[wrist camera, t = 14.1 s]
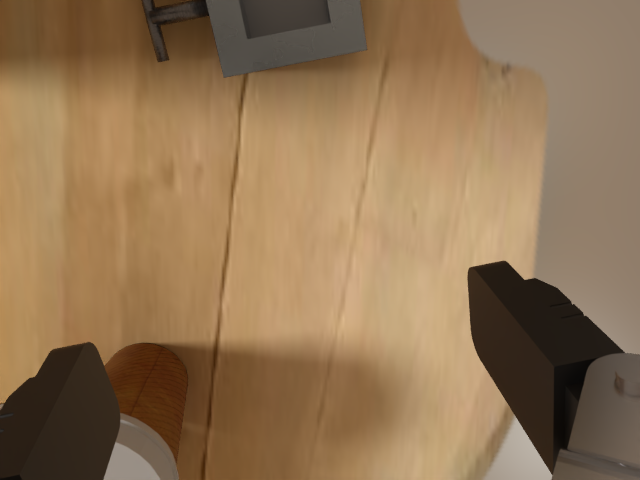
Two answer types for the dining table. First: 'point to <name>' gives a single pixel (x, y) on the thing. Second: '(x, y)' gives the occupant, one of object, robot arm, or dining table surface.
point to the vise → (266, 30)
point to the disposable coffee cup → (147, 412)
